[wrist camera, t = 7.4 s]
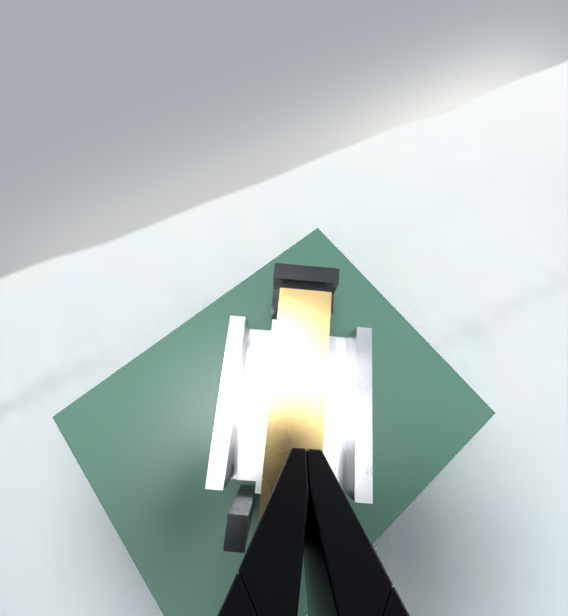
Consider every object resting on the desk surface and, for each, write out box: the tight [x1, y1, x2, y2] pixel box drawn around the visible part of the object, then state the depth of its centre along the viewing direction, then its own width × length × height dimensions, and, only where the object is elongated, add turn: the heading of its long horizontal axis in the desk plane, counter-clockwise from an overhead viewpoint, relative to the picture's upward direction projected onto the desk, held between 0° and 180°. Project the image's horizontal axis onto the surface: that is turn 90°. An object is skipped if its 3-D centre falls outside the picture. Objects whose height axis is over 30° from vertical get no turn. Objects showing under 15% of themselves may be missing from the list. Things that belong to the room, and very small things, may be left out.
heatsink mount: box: [205, 263, 373, 553], centre depth 16 cm, size 12×8×5 cm, turn 175°
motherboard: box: [53, 228, 495, 616], centre depth 19 cm, size 16×20×1 cm
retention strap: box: [258, 288, 332, 523], centre depth 14 cm, size 10×2×1 cm, turn 175°
